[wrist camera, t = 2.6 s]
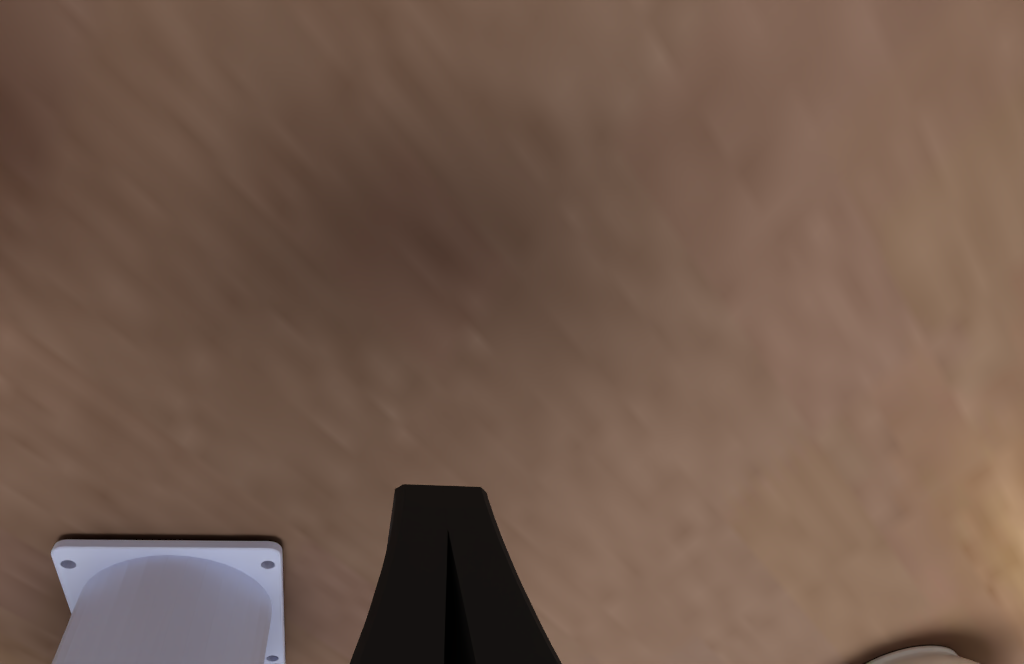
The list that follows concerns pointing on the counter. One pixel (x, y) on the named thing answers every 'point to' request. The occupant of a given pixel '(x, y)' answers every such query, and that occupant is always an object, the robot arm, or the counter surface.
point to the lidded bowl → (922, 656)
